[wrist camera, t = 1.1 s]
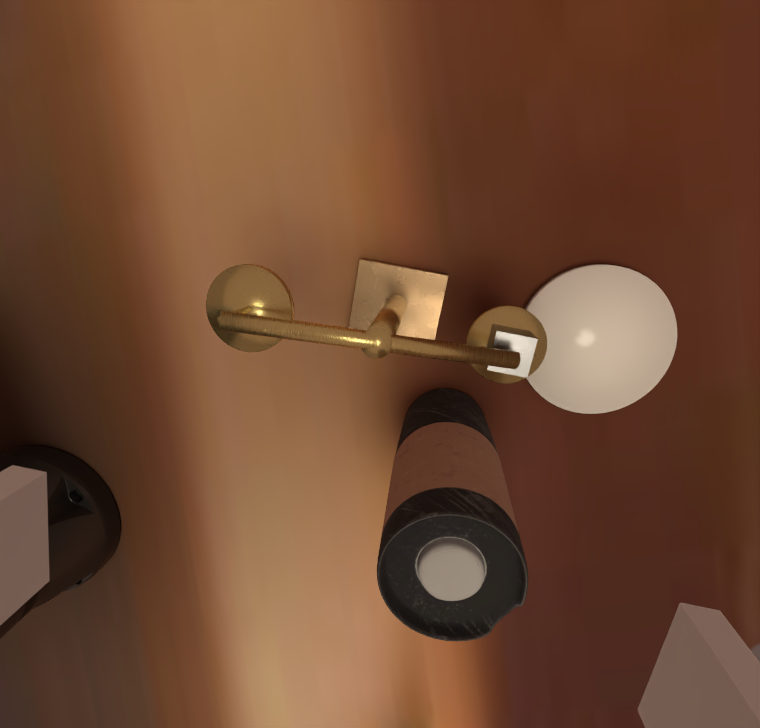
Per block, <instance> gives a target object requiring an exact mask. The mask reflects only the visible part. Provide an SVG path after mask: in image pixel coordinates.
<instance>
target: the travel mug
mask: <svg viewBox="0 0 760 728" xmlns="http://www.w3.org/2000/svg"><path fill="white" fill-rule="evenodd" d="M377 580H378V585H379V589H380V592H381V595H382V597H383V599H384V601H385V603H386V605H387V606H388V608H389V609H390V611H391V612H392V613H393V614H394V615H395V616H396V617H397V618H398V619H399V620H400V621H401V622H402V623H403V624H405V625H406V626H408V627H409V628H411V629H412V630H414V631H416V632H418V633H420V634H423V635H425V636H428V637H431V638H435V639H439V640H445V641H468V640H475V639H479V638H482V637H485V636H487V635H488V634H489V633H490V632H491V630H492V629H493V627H494V626H495V624H497V623H498V622H499V621H500V620H501V619H502V618H503V617H504V616H505V615H506V614H508V613H509V612H510V611H511V610H513V609H514V608H515V607H518V606H522V605H523V604H524V601H525V598H526V595H527V589H528V570H527V563H526V559H525V556H524V552H523V548H522V544H521V540H520V536H519V532H518V529H517V525H516V521H515V517H514V513H513V509H512V505H511V501H510V498H509V494H508V490H507V486H506V482H505V478H504V474H503V470H502V467H501V463H500V459H499V456H498V453H497V450H496V447H495V445H494V442H493V439H492V436H491V433H490V431H489V428H488V425H487V422H486V420H485V417H484V415H483V412H482V410H481V409H480V407H479V405H478V404H477V403H476V402H475V401H474V400H473V399H472V398H471V397H469V396H468V395H466V394H464V393H463V392H460V391H457V390H453V389H435V390H431V391H429V392H426V393H425V394H423V395H421V396H420V397H418V398H417V399H416V400H415V401H414V402H413V403H412V405H411V406H410V408H409V409H408V411H407V414H406V416H405V420H404V423H403V427H402V431H401V435H400V439H399V443H398V447H397V451H396V455H395V459H394V463H393V469H392V475H391V482H390V488H389V494H388V500H387V506H386V512H385V519H384V525H383V531H382V537H381V543H380V549H379V556H378V563H377Z"/></svg>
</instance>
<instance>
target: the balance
mask: <svg viewBox="0 0 760 728" xmlns="http://www.w3.org/2000/svg"><path fill="white" fill-rule="evenodd" d="M447 279H448V274H445V273H440V272H435V271H429V270H424V269H419V268H414V267H408V266H403V265H398V264H392V263H387V262H382V261H376V260H371V259H366V258H362V259H360V261H359V267H358V273H357V280H356V286H355V292H354V298H353V304H352V311H351V317H350V323H349V328H345V327H338V326H330V325H323V324H316V323H309V322H302V321H295V320H293V317H294V304H293V299H292V296H291V293H290V291H289V289H288V287H287V286H286V284H285V283H284V281H283V280H282V279H281V278H280V277H279V276H278V275H277V274H275V273H274V272H273V271H271V270H269V269H267V268H265V267H263V266H259V265H253V264H244V265H238V266H234V267H231V268H228V269H226V270H225V271H223V272H222V273H220V274H219V275H218V276H217V277H216V278H215V280H214V281H213V282H212V284H211V286H210V288H209V291H208V294H207V300H206V309H207V315H208V319H209V322H210V324H211V326H212V328H213V330H214V331H215V333H216V334H217V335H218V336H219V337H220V338H221V339H222V340H223V341H224V342H225V343H227V344H228V345H230V346H231V347H233V348H235V349H238V350H241V351H246V352H259V351H263V350H266V349H269V348H271V347H272V346H274V345H276V344H277V343H278V342H280V341H281V340H282V339H289V340H297V341H304V342H312V343H320V344H327V345H335V346H342V347H350V348H358V349H362V350H363V352H364V353H365V354H366V355H367V356H369V357H371V358H382V357H384V356H386V355H387V354H388V353H396V354H403V355H411V356H418V357H426V358H434V359H441V360H449V361H457V362H464V363H471V364H472V366H473V368H474V369H475V370H476V371H477V372H478V373H479V374H480V375H481V376H483V377H484V378H486V379H488V380H490V381H493V382H497V383H513V382H518V381H520V380H523V379H525V378H527V377H528V376H530V375H531V374H533V373H534V372H535V371H536V370H537V369H538V368H539V366H540V365H541V363H542V362H543V360H544V357H545V355H546V351H547V336H546V332H545V329H544V327H543V325H542V324H541V322H540V321H539V320H538V319H537V318H536V317H535V316H534V315H533V314H532V313H531V312H529V311H527V310H526V309H524V308H521V307H518V306H514V305H501V306H496V307H493V308H491V309H488V310H487V311H485V312H483V313H482V314H481V315H479V316H478V317H477V318H476V320H475V321H474V322H473V323H472V325H471V327H470V329H469V331H468V334H467V339H466V344H460V343H453V342H445V341H438V340H435V336H436V331H437V326H438V322H439V317H440V312H441V308H442V303H443V298H444V293H445V289H446V284H447Z"/></svg>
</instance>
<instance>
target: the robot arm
mask: <svg viewBox="0 0 760 728" xmlns="http://www.w3.org/2000/svg"><path fill="white" fill-rule="evenodd" d="M119 538H120V518H119V513H118V509H117V506H116V503H115V501H114V499H113V497H112V495H111V493H110V491H109V489H108V488H107V486H106V485H105V484H104V482H103V481H102V480H101V479H100V477H99V476H98V475H97V474H96V473H95V472H94V471H93V470H92V469H91V468H89V467H88V466H87V465H86V464H84V463H83V462H82V461H80V460H79V459H77V458H75V457H74V456H72V455H70V454H68V453H65V452H63V451H61V450H57V449H54V448H50V447H45V446H22V447H18V448H14V449H12V450H9V451H7V452H5V453H3V454H1V455H0V638H2V637H3V636H4V635H5V634H6V633H7V632H8V631H9V630H10V629H11V628H12V627H13V626H14V625H15V624H16V623H17V622H18V621H20V620H21V619H22V618H23V617H24V616H25V615H26V614H27V613H28V612H29V611H30V610H31V609H33V608H35V607H37V606H39V605H41V604H43V603H45V602H47V601H49V600H50V599H52V598H54V597H55V596H57V595H59V594H60V593H61V592H63V591H67V590H70V589H72V588H75V587H77V586H79V585H81V584H83V583H84V582H86V581H87V580H89V579H90V578H91V577H93V576H94V575H95V574H96V573H97V572H98V571H99V570H100V569H101V568H102V567H103V566H104V565H105V564H106V563H107V562H108V561H109V559H110V558H111V557H112V555H113V554H114V552H115V550H116V548H117V545H118V542H119ZM638 712H639V714H640V717H641V719H642V721H643V724H644V726H645V728H760V662H759V661H758V660H757V659H756V657H755V656H754V655H753V653H752V652H751V651H750V649H749V648H748V647H747V645H746V644H745V643H744V641H743V640H742V639H741V638H740V636H739V635H738V634H737V632H736V631H735V630H734V628H733V627H732V626H731V624H730V623H729V622H728V620H727V619H726V618H725V617H724V615H723V614H722V613H721V611H719V610H714V609H709V608H704V607H699V606H695V605H690V604H685V603H680V604H679V606H678V609H677V612H676V614H675V617H674V619H673V622H672V624H671V627H670V629H669V632H668V634H667V637H666V639H665V642H664V644H663V647H662V649H661V652H660V654H659V657H658V659H657V662H656V664H655V667H654V670H653V672H652V675H651V677H650V680H649V682H648V685H647V687H646V690H645V692H644V695H643V697H642V700H641V702H640V705H639V707H638Z"/></svg>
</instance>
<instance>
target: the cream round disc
mask: <svg viewBox="0 0 760 728" xmlns="http://www.w3.org/2000/svg"><path fill="white" fill-rule="evenodd" d="M525 309H526V310H527V311H529V312H531V313H532V314H533V315H534V316H535V317H536V318H537V319H538V320H539V321H540V322H541V324H542V325H543V327H544V329H545V332H546V336H547V351H546V355H545V357H544V360H543V362H542V363H541V365H540V366H539V368H538V369H537V370H536V371H535V372H534V373H533V374H531V375H530V376H528V377H527V380H528V381H529V383H530V384H531V385H532V387H533V388H534V389H535V390H536V391H537V392H538V393H539V394H540V395H541V396H542V397H543V398H545V399H546V400H547V401H549V402H550V403H552V404H554V405H556V406H558V407H560V408H563V409H565V410H569V411H572V412H577V413H586V414H596V413H605V412H610V411H614V410H617V409H620V408H623V407H625V406H628V405H630V404H632V403H634V402H635V401H637V400H639V399H640V398H642V397H643V396H644V395H646V394H647V393H648V392H649V391H651V390H652V389H653V388H654V386H655V385H656V384H657V383H658V382H659V381H660V380H661V378H662V377H663V376H664V374H665V372H666V371H667V369H668V367H669V365H670V363H671V361H672V358H673V356H674V352H675V348H676V342H677V324H676V318H675V314H674V311H673V308H672V306H671V304H670V302H669V300H668V298H667V297H666V295H665V294H664V293H663V291H662V290H661V289H660V288H659V287H658V286H657V285H656V284H655V283H654V282H653V281H651V280H650V279H649V278H647V277H646V276H644V275H642V274H640V273H638V272H636V271H634V270H631V269H628V268H624V267H620V266H615V265H607V264H591V265H584V266H580V267H576V268H572V269H570V270H567V271H565V272H563V273H561V274H559V275H557V276H555V277H554V278H552V279H551V280H549V281H548V282H547V283H545V284H544V285H543V286H542V287H541V288H540V289H539V290H538V291H537V292H536V293H535V294H534V295H533V297H532V298H531V299H530V301H529V302H528V304H527V305H526V307H525Z"/></svg>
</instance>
